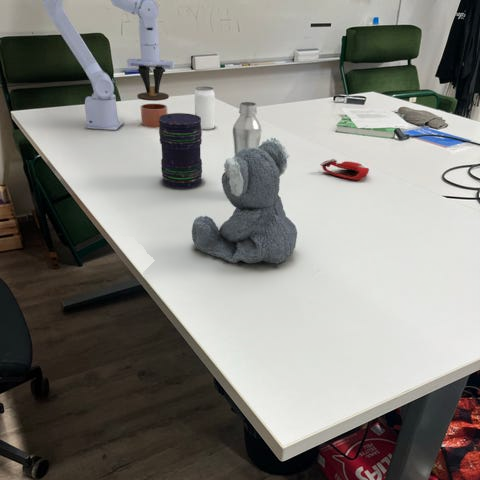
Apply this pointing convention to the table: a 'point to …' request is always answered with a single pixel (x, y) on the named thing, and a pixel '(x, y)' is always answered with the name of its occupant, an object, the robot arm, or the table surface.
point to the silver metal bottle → (246, 128)
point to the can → (205, 106)
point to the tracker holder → (346, 165)
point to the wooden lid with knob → (153, 95)
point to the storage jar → (181, 150)
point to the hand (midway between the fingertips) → (152, 92)
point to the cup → (152, 114)
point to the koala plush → (251, 210)
